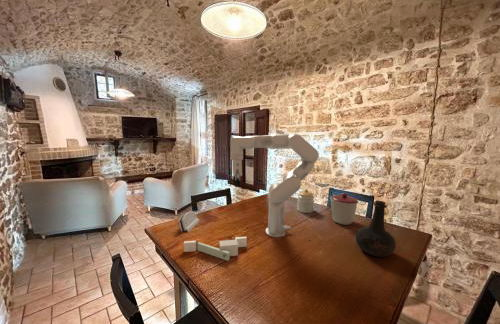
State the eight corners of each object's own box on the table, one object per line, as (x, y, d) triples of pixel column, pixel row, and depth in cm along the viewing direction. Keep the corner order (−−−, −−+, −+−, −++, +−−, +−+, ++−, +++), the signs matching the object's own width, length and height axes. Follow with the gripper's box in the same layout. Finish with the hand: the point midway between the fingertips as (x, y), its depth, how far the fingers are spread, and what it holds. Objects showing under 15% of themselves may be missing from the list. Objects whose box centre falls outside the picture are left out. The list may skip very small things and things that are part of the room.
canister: (361, 223, 142) (364, 194, 139) (347, 230, 132) (350, 199, 128) (338, 214, 156) (340, 188, 153) (323, 220, 146) (325, 191, 143)
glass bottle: (347, 246, 113) (351, 197, 109) (370, 240, 119) (375, 194, 115) (377, 265, 97) (383, 209, 92) (402, 257, 103) (409, 205, 99)
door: (194, 251, 106) (194, 242, 106) (197, 249, 108) (196, 240, 107) (227, 262, 97) (227, 253, 96) (229, 260, 99) (229, 251, 98)
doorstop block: (236, 249, 108) (236, 239, 107) (237, 255, 103) (237, 244, 102) (219, 251, 106) (219, 241, 105) (220, 257, 101) (219, 246, 101)
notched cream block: (246, 244, 113) (246, 236, 112) (246, 246, 111) (246, 238, 110) (184, 250, 107) (184, 241, 106) (184, 252, 105) (183, 243, 105)
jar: (294, 207, 170) (295, 187, 168) (309, 207, 172) (310, 186, 169) (300, 213, 157) (301, 191, 155) (316, 213, 159) (317, 191, 156)
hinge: (188, 232, 126) (182, 217, 125) (181, 233, 127) (176, 219, 126) (199, 220, 142) (195, 207, 142) (194, 222, 143) (189, 209, 143)
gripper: (245, 158, 114) (244, 188, 117) (241, 155, 131) (240, 181, 134) (231, 159, 113) (231, 188, 115) (229, 155, 130) (229, 181, 132)
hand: (236, 184), depth 124 cm, fingers open, 9 cm apart
